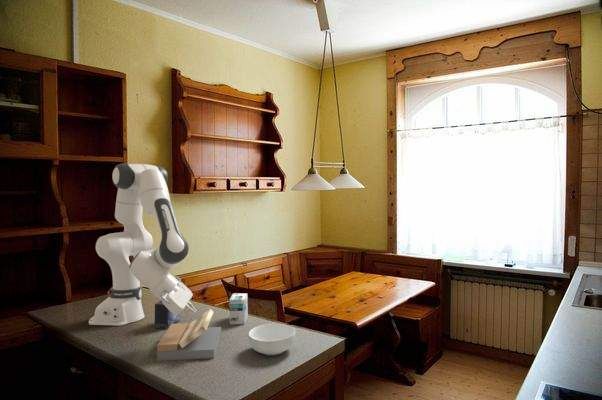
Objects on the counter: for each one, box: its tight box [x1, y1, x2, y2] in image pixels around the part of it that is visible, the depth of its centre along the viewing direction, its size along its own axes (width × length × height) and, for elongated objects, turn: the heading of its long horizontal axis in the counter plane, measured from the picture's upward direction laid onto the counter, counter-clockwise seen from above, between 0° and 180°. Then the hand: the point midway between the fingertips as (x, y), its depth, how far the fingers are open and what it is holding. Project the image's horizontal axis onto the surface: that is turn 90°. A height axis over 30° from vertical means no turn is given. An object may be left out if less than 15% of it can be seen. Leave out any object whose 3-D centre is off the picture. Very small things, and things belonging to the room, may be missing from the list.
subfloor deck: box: [156, 322, 222, 362], centre depth 147 cm, size 19×22×5 cm
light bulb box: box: [228, 292, 249, 325], centre depth 175 cm, size 11×7×11 cm, turn 0°
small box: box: [154, 300, 181, 330], centre depth 171 cm, size 11×6×10 cm, turn 168°
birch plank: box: [179, 308, 214, 348], centre depth 147 cm, size 10×20×2 cm
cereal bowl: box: [248, 323, 297, 356], centre depth 143 cm, size 17×17×7 cm
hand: (195, 313), depth 147 cm, fingers closed
